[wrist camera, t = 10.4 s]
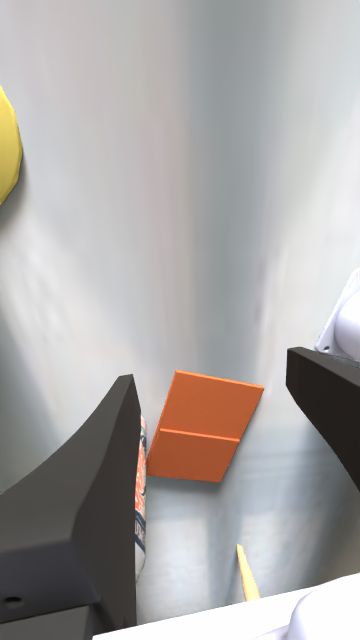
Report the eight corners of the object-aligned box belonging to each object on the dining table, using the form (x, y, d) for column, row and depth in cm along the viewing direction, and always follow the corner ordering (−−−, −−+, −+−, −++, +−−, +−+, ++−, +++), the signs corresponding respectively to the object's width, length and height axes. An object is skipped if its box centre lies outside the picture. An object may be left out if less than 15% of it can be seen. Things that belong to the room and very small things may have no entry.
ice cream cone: (265, 535, 35) (342, 746, 21) (244, 559, 36) (303, 770, 23) (230, 529, 33) (288, 750, 19) (210, 554, 35) (251, 775, 21)
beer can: (139, 444, 26) (132, 609, 15) (92, 437, 25) (48, 609, 14) (152, 408, 25) (154, 561, 14) (102, 399, 24) (61, 557, 13)
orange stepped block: (263, 385, 25) (266, 390, 25) (219, 478, 30) (221, 484, 29) (175, 369, 23) (176, 373, 23) (143, 470, 28) (142, 476, 27)
